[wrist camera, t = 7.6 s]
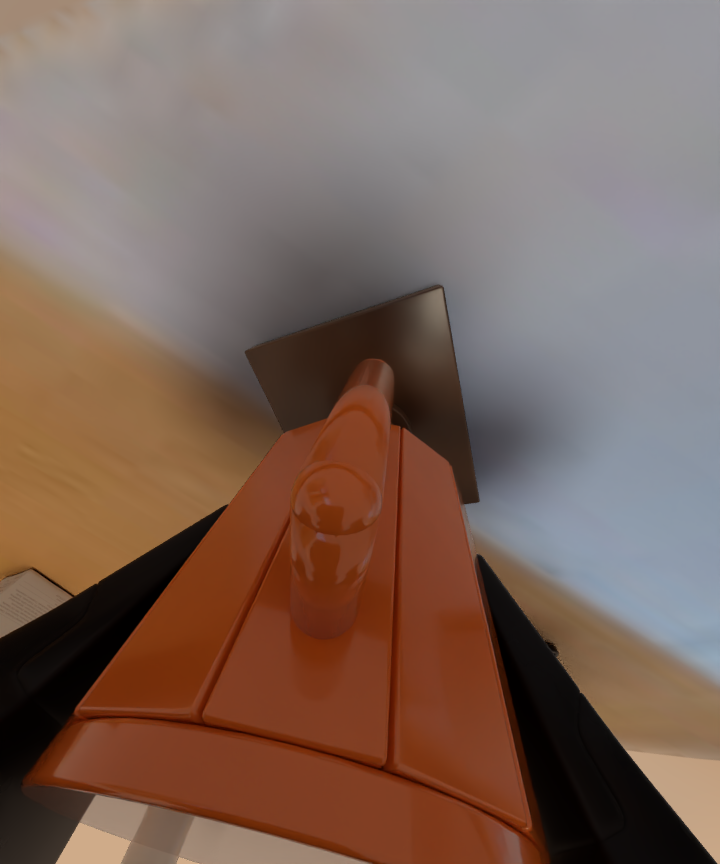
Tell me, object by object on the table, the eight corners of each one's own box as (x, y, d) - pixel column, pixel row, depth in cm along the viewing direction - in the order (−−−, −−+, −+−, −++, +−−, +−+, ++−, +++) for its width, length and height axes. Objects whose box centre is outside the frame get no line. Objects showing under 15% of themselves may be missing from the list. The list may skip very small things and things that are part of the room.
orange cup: (431, 588, 12) (457, 937, 6) (263, 553, 12) (117, 841, 6) (527, 362, 7) (1371, 1026, 1) (246, 317, 7) (-505, 550, 1)
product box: (32, 566, 29) (-73, 650, 23) (83, 601, 31) (1, 686, 25) (4, 577, 31) (-99, 656, 25) (53, 609, 33) (-29, 689, 27)
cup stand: (475, 488, 17) (535, 680, 9) (332, 508, 19) (281, 674, 11) (440, 283, 12) (503, 314, 4) (255, 345, 14) (75, 438, 7)
